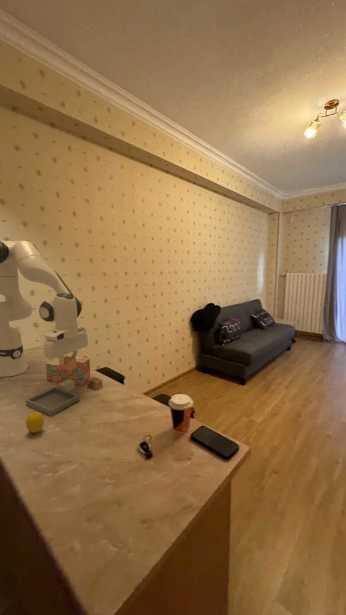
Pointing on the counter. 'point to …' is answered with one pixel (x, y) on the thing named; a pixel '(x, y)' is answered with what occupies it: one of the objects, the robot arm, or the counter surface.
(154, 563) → the counter surface
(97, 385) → the walnut brick
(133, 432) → the counter surface
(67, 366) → the terracotta brick
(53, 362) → the stack of blocks
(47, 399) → the charcoal tray
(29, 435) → the counter surface
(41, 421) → the lemon
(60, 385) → the sage brick
